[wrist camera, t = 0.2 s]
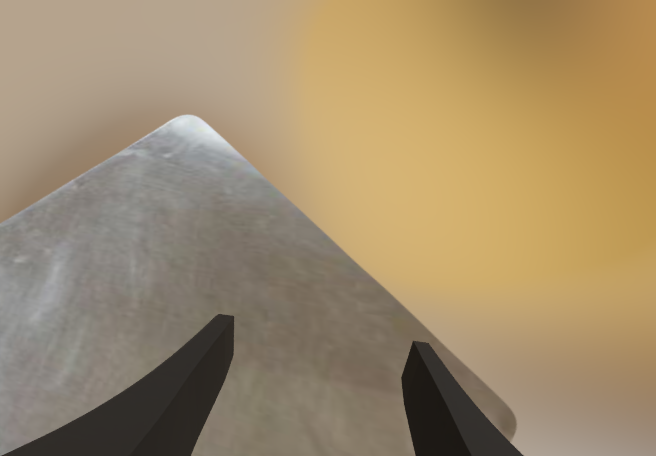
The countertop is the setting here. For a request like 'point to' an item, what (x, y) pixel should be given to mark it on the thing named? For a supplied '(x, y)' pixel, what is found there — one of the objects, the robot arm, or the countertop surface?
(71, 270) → the countertop surface
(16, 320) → the countertop surface
